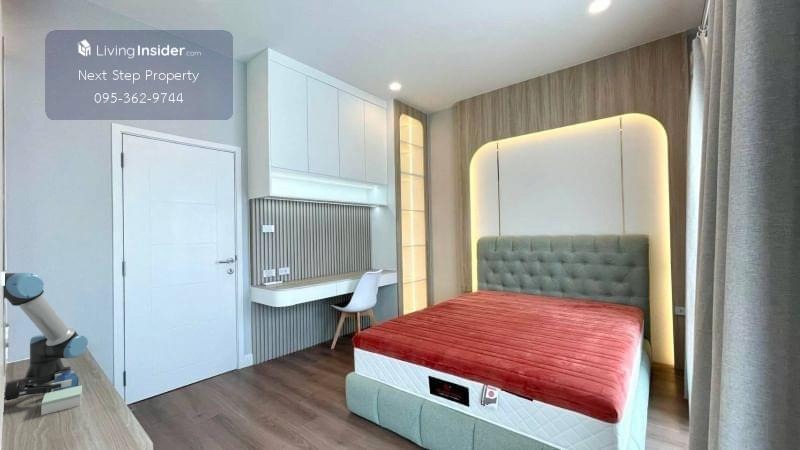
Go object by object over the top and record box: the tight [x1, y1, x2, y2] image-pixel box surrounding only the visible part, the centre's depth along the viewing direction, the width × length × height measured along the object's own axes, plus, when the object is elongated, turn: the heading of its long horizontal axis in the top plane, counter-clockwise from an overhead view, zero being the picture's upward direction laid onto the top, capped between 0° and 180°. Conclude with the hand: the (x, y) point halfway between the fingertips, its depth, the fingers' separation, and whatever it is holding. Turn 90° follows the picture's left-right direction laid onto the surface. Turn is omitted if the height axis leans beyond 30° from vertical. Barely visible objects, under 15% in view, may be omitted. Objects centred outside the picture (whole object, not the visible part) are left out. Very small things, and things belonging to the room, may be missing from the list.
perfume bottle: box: [52, 366, 79, 392], centre depth 162 cm, size 6×6×12 cm
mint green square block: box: [40, 384, 83, 416], centre depth 150 cm, size 12×12×5 cm
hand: (72, 378), depth 163 cm, fingers open, 13 cm apart
